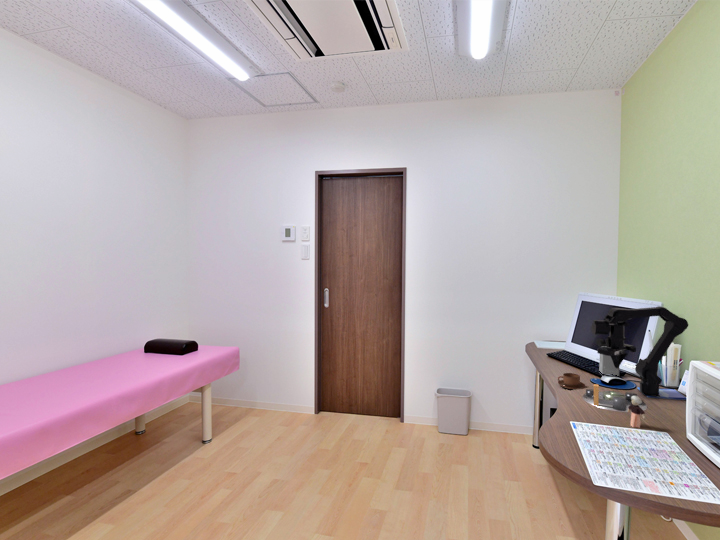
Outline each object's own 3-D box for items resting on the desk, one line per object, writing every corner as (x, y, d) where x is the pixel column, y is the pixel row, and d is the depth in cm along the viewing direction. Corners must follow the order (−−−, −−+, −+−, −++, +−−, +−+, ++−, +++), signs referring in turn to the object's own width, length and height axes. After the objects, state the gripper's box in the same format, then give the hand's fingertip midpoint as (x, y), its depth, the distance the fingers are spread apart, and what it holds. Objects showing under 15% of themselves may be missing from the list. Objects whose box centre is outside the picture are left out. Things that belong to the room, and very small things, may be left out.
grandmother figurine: (622, 425, 153) (622, 393, 153) (629, 424, 155) (629, 392, 154) (642, 434, 146) (643, 400, 146) (649, 432, 148) (650, 398, 147)
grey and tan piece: (626, 407, 167) (626, 387, 167) (626, 411, 163) (626, 391, 163) (593, 402, 174) (593, 383, 173) (593, 405, 170) (593, 386, 169)
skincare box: (602, 376, 214) (602, 346, 213) (598, 372, 220) (598, 343, 220) (620, 377, 211) (620, 347, 211) (616, 373, 218) (616, 344, 217)
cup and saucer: (566, 392, 191) (566, 379, 191) (553, 383, 203) (553, 372, 203) (590, 391, 192) (590, 378, 192) (576, 383, 204) (576, 371, 204)
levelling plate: (636, 397, 183) (636, 386, 182) (656, 417, 160) (656, 405, 160) (577, 392, 190) (577, 381, 190) (588, 411, 168) (588, 399, 168)
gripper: (614, 330, 199) (614, 361, 199) (587, 333, 192) (587, 365, 192) (636, 334, 188) (636, 367, 189) (609, 338, 181) (608, 371, 182)
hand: (616, 367), depth 188 cm, fingers closed
